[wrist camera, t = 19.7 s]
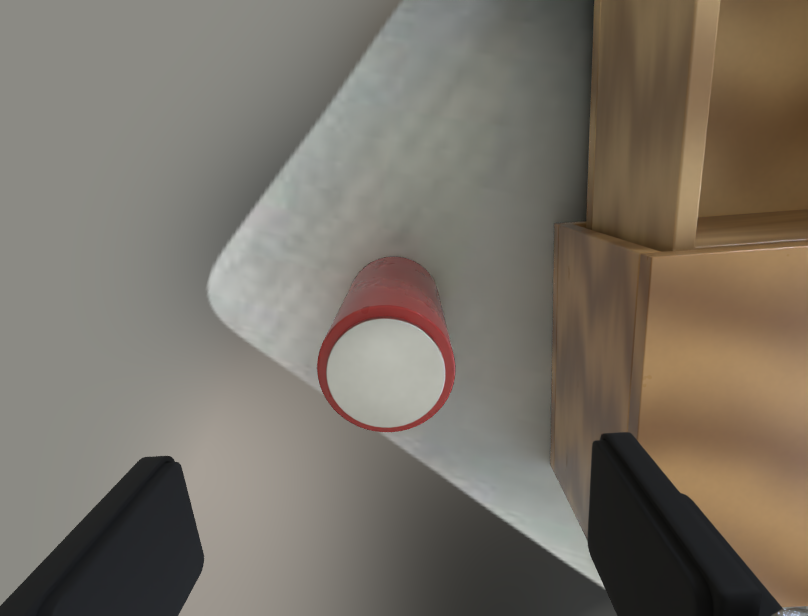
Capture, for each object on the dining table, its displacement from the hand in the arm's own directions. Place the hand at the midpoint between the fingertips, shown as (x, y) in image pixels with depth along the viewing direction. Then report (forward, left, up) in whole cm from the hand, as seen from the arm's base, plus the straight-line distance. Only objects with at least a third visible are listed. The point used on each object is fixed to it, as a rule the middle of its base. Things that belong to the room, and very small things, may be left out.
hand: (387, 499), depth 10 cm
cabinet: (-5, +16, -17) cm, 24 cm away
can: (0, 0, -17) cm, 17 cm away
